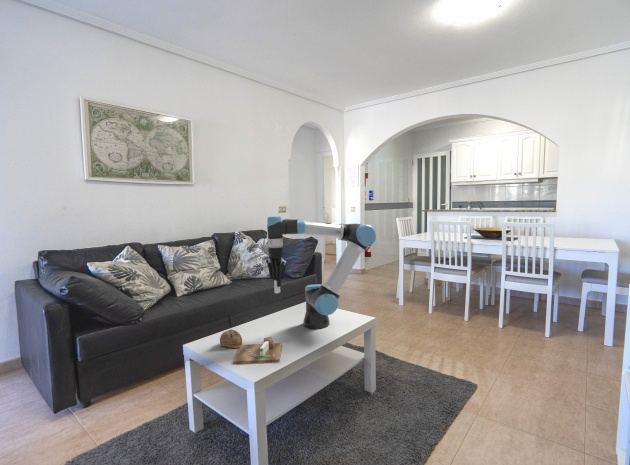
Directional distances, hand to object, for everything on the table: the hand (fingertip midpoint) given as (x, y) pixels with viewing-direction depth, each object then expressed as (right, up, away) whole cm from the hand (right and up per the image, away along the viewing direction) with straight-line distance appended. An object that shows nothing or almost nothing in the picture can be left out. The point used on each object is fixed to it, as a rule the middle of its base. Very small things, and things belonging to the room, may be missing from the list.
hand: (277, 292), depth 169 cm
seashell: (-23, -26, -4) cm, 35 cm away
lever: (-4, -24, -16) cm, 29 cm away
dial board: (-7, -26, -16) cm, 31 cm away
